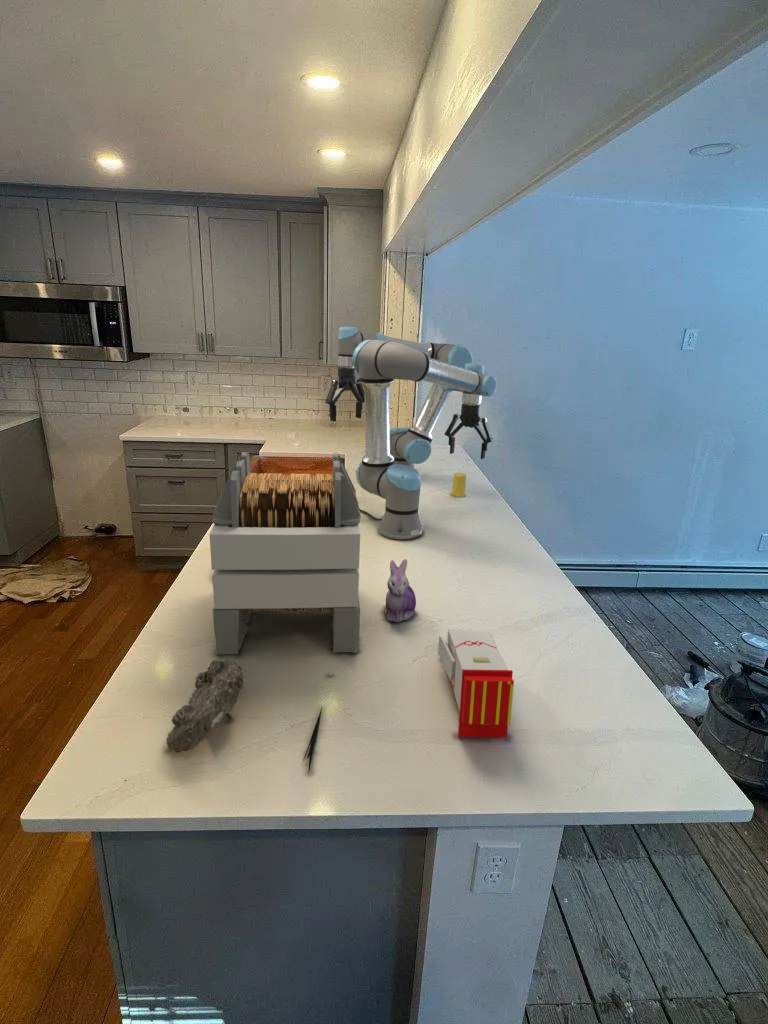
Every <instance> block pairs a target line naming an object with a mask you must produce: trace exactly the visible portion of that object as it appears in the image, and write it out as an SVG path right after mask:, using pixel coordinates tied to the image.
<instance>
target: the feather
mask: <svg viewBox="0 0 768 1024" xmlns="http://www.w3.org/2000/svg"><path fill="white" fill-rule="evenodd" d="M329 675H330V676H331V675H332V674H331V673H330V674H329ZM322 710H323V707H321V708H320V710H319V713H318V716H317V719H316V723H315V725H314V728H313V731H312V733H311V737H310V739H309V742H308V745H307V748H306V751H305V754H304V757H303V760H302V763H301V767H302V765H303V763H304V761H305V758H308V759H309V760H308V762H307V763H308V764H307V766H308V771H310V770H311V766H312V765H311V764H312V760H313V757H315V756H314V755H315V751H316V749H315V746H317V739H318V733H319V729H320V722H321V717H322V712H323V711H322ZM313 754H314V755H313ZM306 755H307V757H306Z"/></svg>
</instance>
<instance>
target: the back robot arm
mask: <svg viewBox="0 0 768 1024" xmlns="http://www.w3.org/2000/svg"><path fill="white" fill-rule="evenodd" d="M373 339H374V340H382V341H389V342H397V343H400V344H403V345H406V346H408V347H410V348H413V349H415V350H418V351H421V352H424V353H426V354H427V355H428V357H429V358H432V359H435V360H438V361H442V362H445V363H448V364H451V365H455V366H458V367H461V368H464V367H465V364H467V363H474V358H473V354H472V351H471V350H470V349H469V348H468V347H466V346H463V345H460V344H453V343H436V342H430V341H427V342H426V343H422V342H418V341H413V340H407V339H403V338H397V337H393V336H386V335H385V334H384V333H383V332H369V331H363V330H358V327H356V326H340V327H339V328H338V335H337V343H338V344H337V366H338V367H337V378H338V379H337V380H336V379H331V385H330V388H329V391H328V393H327V396H326V398H325V401H324V402H325V404H327V405H328V406H329V410H328V411H329V413H330V421H332V422H334V423H335V422H337V405H336V404H337V402H338V401H339V398H340V397H341V395H342V394H343V393H344V392H347V391H351V393H352V395H353V396H354V398H355V400H356V401H355V418H356V419H362V411H363V406H364V405H363V404H365V396H364V386H363V385H362V384H361V383H360V377H357V371H356V369H355V368H354V366H353V361H352V358H353V353H354V351H355V349H356V347H357V346H358V345H359V344H360V343H361V342H363V341H365V340H373ZM451 393H452V391H444V390H443V389H442V388H441V386H440V385H439V384H435V383H432V385H431V387H430V390H429V392H428V394H427V396H426V398H425V400H424V403H423V404H422V407H421V409H420V411H419V414H418V415H417V418H416V420H415V422H414V424H413V426H410V427H391V428H390V454H391V455H392V456H393V457H394V465H395V464H401V465H405V466H411V467H413V468H415V465H420V464H422V463H425V462H427V460H428V459H429V458H430V456H431V453H432V446H431V443H432V442H433V439H434V437H433V434H432V433H433V431H434V429H435V427H436V425H437V423H438V421H439V419H440V416H441V414H442V412H443V409H444V408H445V405H446V403H447V401H448V399H449V398H450V395H451Z"/></svg>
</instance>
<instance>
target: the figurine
mask: <svg viewBox="0 0 768 1024" xmlns="http://www.w3.org/2000/svg"><path fill="white" fill-rule="evenodd" d="M407 567H408V559H406V558H404V559H403V560H402V561H401V563H400V565H399V566H398V565H397V563H396V562H395V561H394V560H393V559H391V560H390V561H389V570H390V576H389V578H388V579H387V589H388V591H387V592H386V594H385V595H386V596H385V607H384V615H385V616H386V620H387V621H391V622H395V623H400V622H402V621H406V620H409V619H410V618H411V617H413V616H414V615H415V610H416V606H417V597H416V593H415V591H414V590H413V587H411V586H410V582H409V579H408V577H407V574H406V571H407Z"/></svg>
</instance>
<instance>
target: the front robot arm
mask: <svg viewBox="0 0 768 1024" xmlns="http://www.w3.org/2000/svg"><path fill="white" fill-rule="evenodd" d="M352 361H353V366H354V368H355V369H356V373H358V375H359V379H360V383H361V384H362V387H363V390H364V396H365V402H364V431H365V435H364V436H365V454H364V455H363V456H362V458H361V462H360V463H359V464H358V467H357V468H356V473H355V478H356V481H357V483H358V485H359V487H360V488H361V489H363V490H365V491H366V492H367V493H369V494H372V495H375V496H378V497H380V498H381V499H385V504H384V505H385V507H384V508H385V509H384V513H383V515H382V518H380V517H379V518H378V517H375V516H373V515H372V514H371V513H369V512H367V511H365V510H363V509H360V508H359V511H360V513H364V514H365V515H367V516H369V517H370V518H371V519H373V520H375V521H379V526H378V533H379V534H380V535H381V536H382V537H385V538H387V539H389V540H395V541H410V540H415V539H418V538H420V537H421V536H422V535H423V525H422V524H421V518H420V515H419V507H420V506H419V505H420V496H421V495H420V494H421V482H422V481H421V473H420V471H419V470H417V468H415V467H414V468H413V467H411V466H405V465H401V464H395V465H394V457H393V456H392V455H391V454H390V430H391V425H390V423H391V422H390V421H391V419H390V416H391V415H390V413H391V412H390V386H391V385H392V384H393V383H394V382H395V380H403V381H411V382H414V383H415V382H417V383H419V382H422V381H424V382H428V383H431V384H433V383H435V384H439V385H440V386H441V388H442V389H443V390H444V391H451V392H460V393H462V395H461V403H462V404H461V406H460V407H461V409H460V414H459V413H454V414H453V415H452V420H451V421H450V423H449V425H448V427H447V429H446V430H445V432H444V436H445V437H448V442H447V443H448V446H449V455H452V454H454V453H455V446H456V445H455V444H456V437H455V435H456V434H457V433H458V432H459V431H460V430H461V429H463V427H464V428H469V429H474V430H475V431H476V432H477V434H478V435H479V437H480V438H481V440H482V442H481V450H480V460H483V459H485V458H486V452H487V451H488V450H489V443H492V442H494V437H493V434H492V432H491V429H490V426H489V423H488V417H486V416H485V417H481V407H482V406H481V404H482V397H492V396H494V394H495V393H496V391H497V387H498V381H497V379H496V377H495V376H494V375H489V374H484V373H485V372H484V369H485V366H484V365H483V364H482V363H478V362H477V363H474V362H473V363H467V364H465V367H464V368H461V367H458V366H455V365H451V364H448V363H445V362H442V361H438V360H435V359H432V358H429V357H428V355H427V354H426V353H424V352H421V351H418V350H415V349H413V348H410V347H408V346H406V345H403V344H400V343H397V342H389V341H382V340H374V339H373V340H365V341H363V342H361V343H360V344H359V345H358V346H357V347H356V349H355V351H354V353H353V358H352ZM458 420H460V423H458V425H457V427H455V425H456V424H457V422H458ZM480 423H481V425H482V427H483V429H482V427H481V425H480ZM454 427H455V428H454Z"/></svg>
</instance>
